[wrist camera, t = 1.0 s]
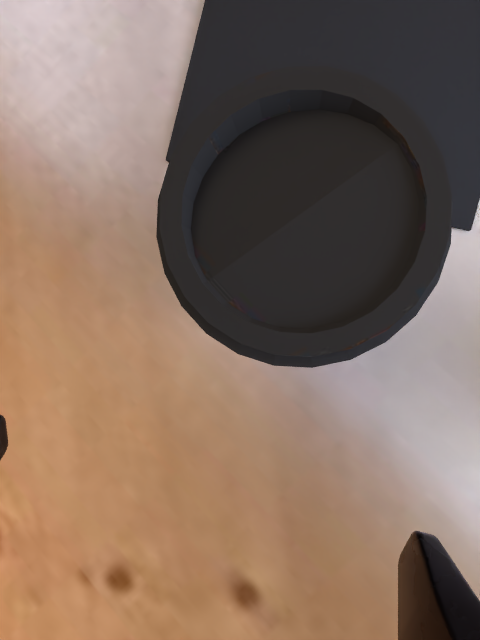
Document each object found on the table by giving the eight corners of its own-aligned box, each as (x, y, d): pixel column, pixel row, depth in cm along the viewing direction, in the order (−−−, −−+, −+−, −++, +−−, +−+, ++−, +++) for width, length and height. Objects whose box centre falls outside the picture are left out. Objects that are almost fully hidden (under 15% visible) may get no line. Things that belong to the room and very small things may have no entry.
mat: (468, 230, 25) (471, 230, 25) (166, 161, 27) (165, 159, 26) (579, -165, 24) (582, -171, 24) (258, -209, 26) (258, -216, 25)
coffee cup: (195, 254, 27) (77, 178, 12) (310, 170, 26) (342, -28, 11) (275, 368, 26) (260, 442, 11) (395, 286, 25) (548, 249, 10)
